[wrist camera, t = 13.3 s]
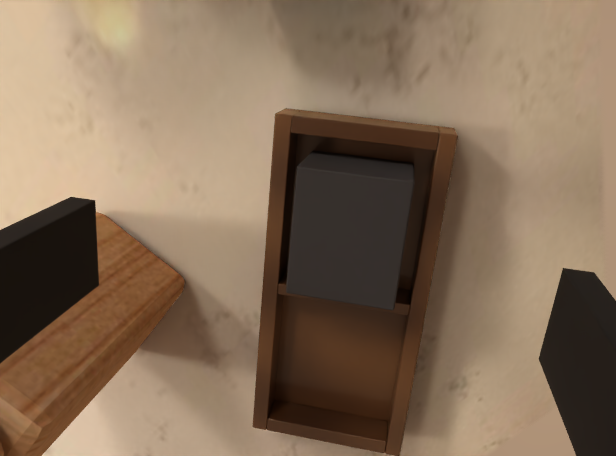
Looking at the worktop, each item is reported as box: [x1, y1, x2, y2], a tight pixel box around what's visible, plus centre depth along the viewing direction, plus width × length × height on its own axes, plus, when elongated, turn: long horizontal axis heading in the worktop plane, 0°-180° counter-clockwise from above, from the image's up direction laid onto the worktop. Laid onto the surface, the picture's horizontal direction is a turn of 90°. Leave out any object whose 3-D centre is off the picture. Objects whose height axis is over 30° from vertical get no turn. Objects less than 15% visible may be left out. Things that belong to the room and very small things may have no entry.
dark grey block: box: [286, 150, 415, 310], centre depth 26 cm, size 6×5×4 cm
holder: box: [253, 109, 458, 456], centre depth 28 cm, size 17×8×2 cm, turn 175°
